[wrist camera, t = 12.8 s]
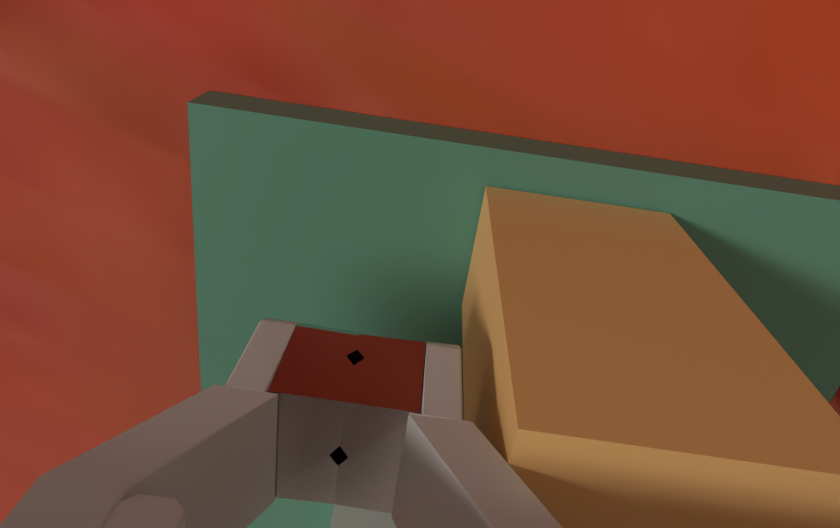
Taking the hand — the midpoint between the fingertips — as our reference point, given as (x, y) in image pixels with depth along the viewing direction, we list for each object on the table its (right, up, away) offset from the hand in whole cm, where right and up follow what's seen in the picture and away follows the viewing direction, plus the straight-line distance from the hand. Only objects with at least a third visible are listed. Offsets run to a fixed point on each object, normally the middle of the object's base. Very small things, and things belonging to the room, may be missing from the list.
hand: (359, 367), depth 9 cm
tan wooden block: (+4, 0, +5) cm, 6 cm away
